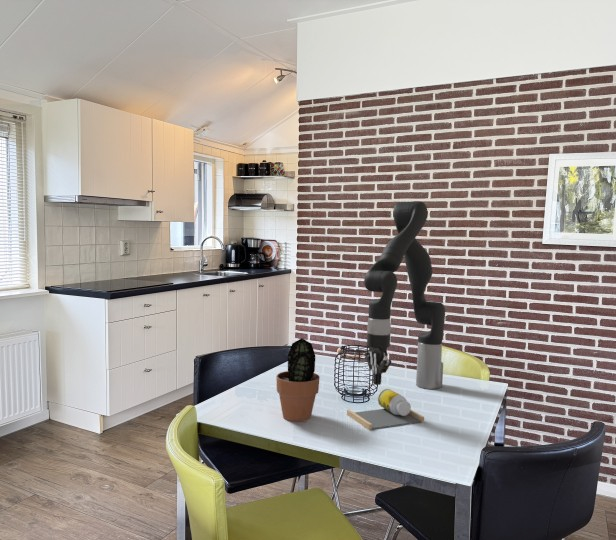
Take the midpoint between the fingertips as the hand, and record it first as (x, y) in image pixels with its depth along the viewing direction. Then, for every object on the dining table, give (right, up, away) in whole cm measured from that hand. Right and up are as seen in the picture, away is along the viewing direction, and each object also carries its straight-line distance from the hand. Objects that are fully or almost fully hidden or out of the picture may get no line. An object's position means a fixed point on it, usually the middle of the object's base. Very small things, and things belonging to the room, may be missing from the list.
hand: (376, 384), depth 168 cm
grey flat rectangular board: (+2, -10, -4) cm, 11 cm away
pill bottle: (+3, -6, +5) cm, 8 cm away
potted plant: (-26, -9, -5) cm, 28 cm away
